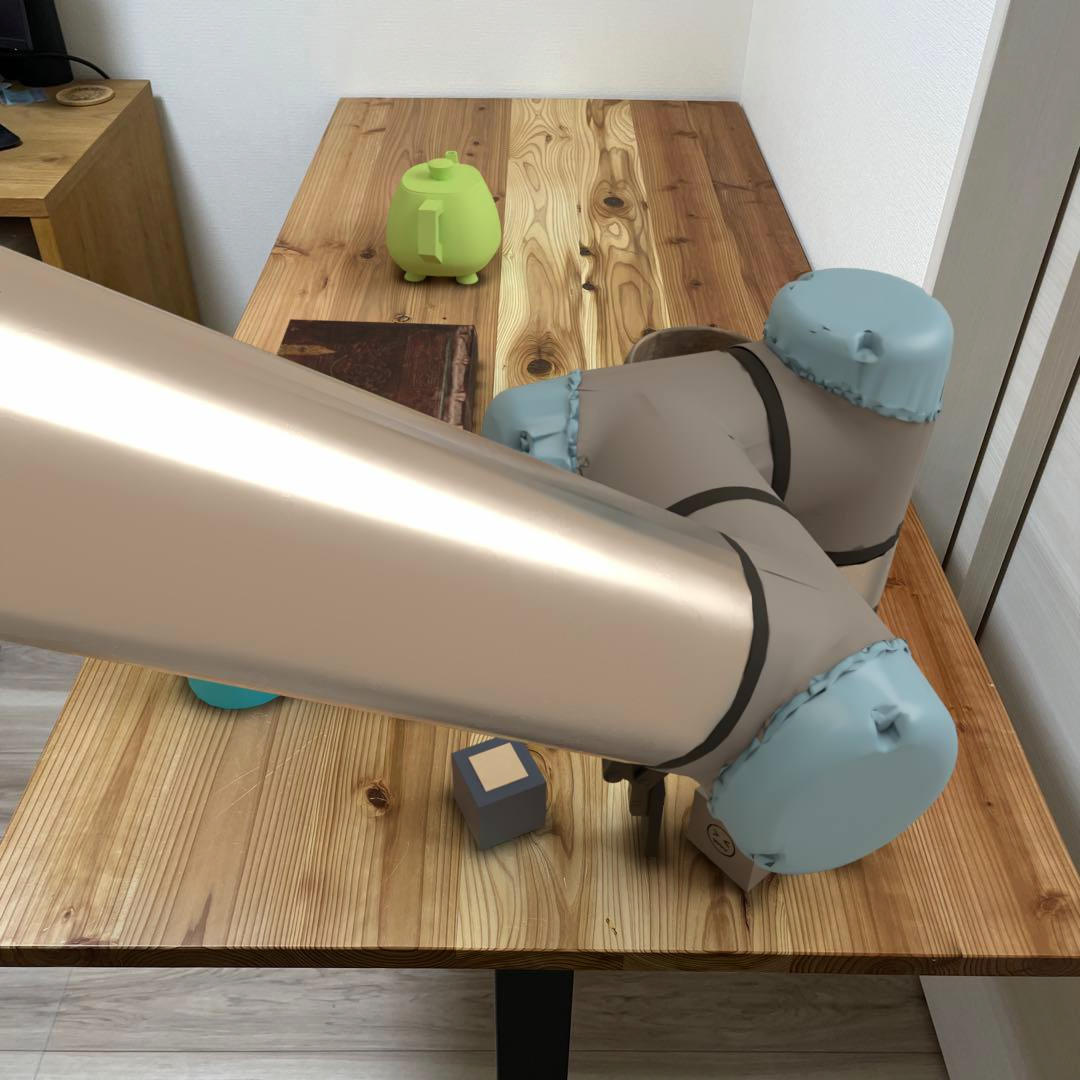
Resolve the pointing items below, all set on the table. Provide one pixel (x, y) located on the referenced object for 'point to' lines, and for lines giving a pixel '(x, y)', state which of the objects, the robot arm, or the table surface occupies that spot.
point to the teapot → (442, 221)
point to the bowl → (683, 342)
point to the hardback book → (394, 361)
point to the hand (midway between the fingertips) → (743, 839)
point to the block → (498, 790)
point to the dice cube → (721, 844)
